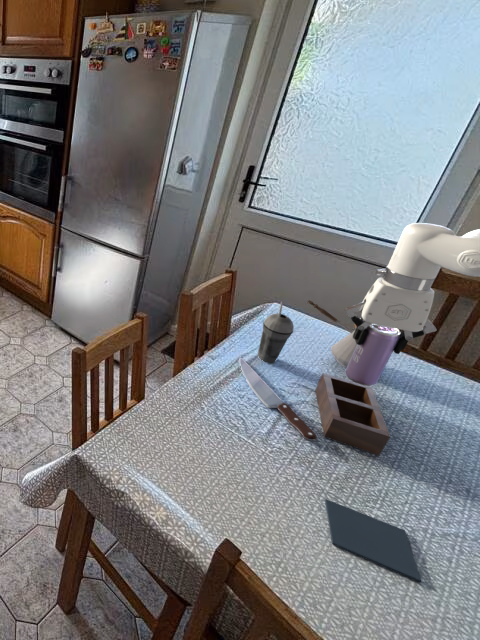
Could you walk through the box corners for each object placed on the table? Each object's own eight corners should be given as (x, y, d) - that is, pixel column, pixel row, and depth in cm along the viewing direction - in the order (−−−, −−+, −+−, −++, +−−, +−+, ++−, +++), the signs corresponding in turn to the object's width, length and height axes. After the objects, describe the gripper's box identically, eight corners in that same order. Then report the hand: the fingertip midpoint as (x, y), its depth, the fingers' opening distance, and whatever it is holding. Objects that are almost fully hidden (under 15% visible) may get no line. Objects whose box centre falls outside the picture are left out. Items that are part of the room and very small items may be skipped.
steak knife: (297, 442, 97) (300, 436, 96) (224, 359, 125) (226, 354, 124) (317, 443, 97) (320, 437, 96) (240, 360, 125) (242, 355, 124)
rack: (315, 389, 113) (322, 372, 110) (362, 403, 108) (372, 386, 105) (324, 437, 99) (333, 418, 96) (379, 455, 94) (390, 437, 91)
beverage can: (381, 389, 98) (408, 337, 92) (350, 383, 100) (375, 333, 94) (368, 373, 103) (393, 323, 97) (339, 368, 105) (362, 319, 99)
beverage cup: (284, 368, 121) (307, 311, 112) (255, 363, 123) (275, 306, 114) (276, 353, 127) (298, 298, 118) (249, 348, 129) (268, 294, 121)
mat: (403, 531, 79) (405, 530, 79) (420, 582, 71) (421, 581, 71) (324, 500, 85) (325, 498, 84) (332, 544, 77) (332, 542, 77)
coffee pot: (382, 365, 121) (404, 323, 115) (373, 382, 115) (395, 338, 109) (297, 332, 137) (312, 293, 130) (284, 345, 130) (299, 305, 124)
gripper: (359, 277, 92) (331, 343, 99) (471, 296, 83) (432, 367, 90) (352, 264, 97) (327, 328, 105) (457, 281, 89) (421, 349, 96)
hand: (376, 345), depth 97 cm, fingers closed on beverage can, 6 cm apart
